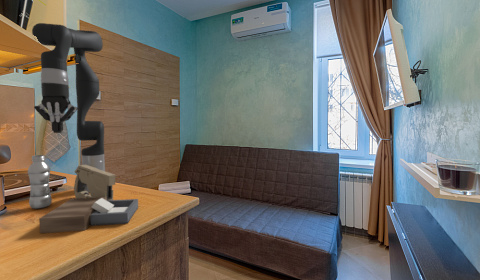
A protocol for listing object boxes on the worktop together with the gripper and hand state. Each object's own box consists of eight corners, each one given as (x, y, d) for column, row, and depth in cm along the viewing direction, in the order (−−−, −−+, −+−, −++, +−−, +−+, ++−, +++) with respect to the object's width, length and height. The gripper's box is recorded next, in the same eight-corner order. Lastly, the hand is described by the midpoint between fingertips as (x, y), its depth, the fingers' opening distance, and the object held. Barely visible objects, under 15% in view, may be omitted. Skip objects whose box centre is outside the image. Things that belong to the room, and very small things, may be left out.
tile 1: (98, 202, 81) (101, 197, 81) (111, 209, 82) (114, 205, 82) (91, 207, 76) (94, 202, 76) (104, 215, 77) (108, 210, 77)
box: (107, 209, 87) (106, 200, 87) (138, 207, 89) (138, 198, 89) (90, 225, 74) (90, 215, 73) (127, 223, 76) (127, 213, 75)
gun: (72, 197, 100) (72, 163, 98) (80, 195, 103) (81, 162, 101) (107, 213, 89) (108, 175, 87) (115, 210, 92) (116, 174, 90)
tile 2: (127, 206, 83) (128, 212, 84) (113, 207, 83) (113, 212, 83) (123, 212, 78) (123, 217, 79) (107, 213, 78) (107, 218, 78)
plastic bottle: (38, 204, 91) (35, 154, 90) (56, 204, 92) (53, 154, 90) (24, 210, 85) (21, 157, 83) (43, 210, 85) (40, 157, 84)
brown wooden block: (72, 210, 86) (71, 198, 86) (107, 208, 88) (106, 197, 88) (40, 233, 68) (39, 218, 68) (84, 230, 71) (84, 215, 70)
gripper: (81, 85, 86) (83, 132, 87) (40, 84, 83) (43, 132, 85) (70, 82, 78) (72, 133, 80) (25, 80, 76) (28, 133, 77)
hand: (57, 132), depth 82 cm, fingers closed
